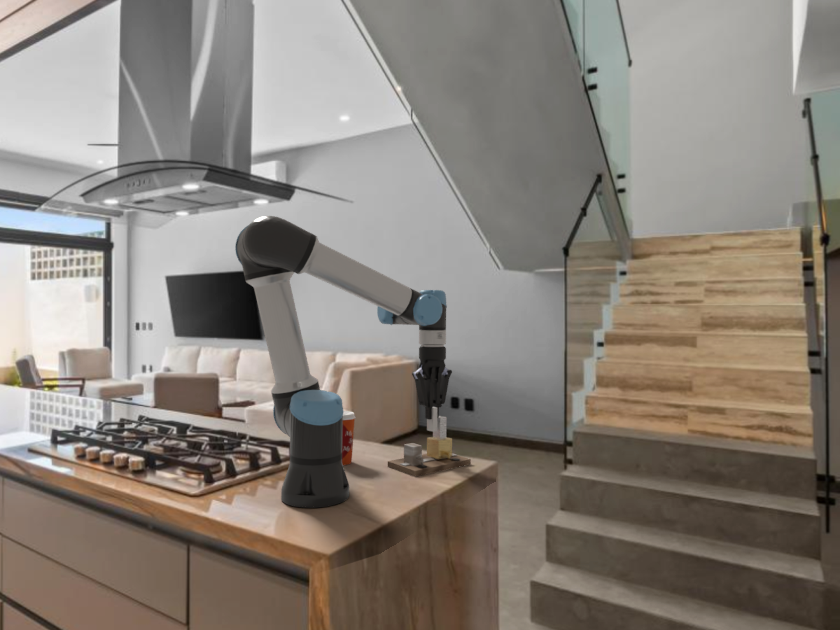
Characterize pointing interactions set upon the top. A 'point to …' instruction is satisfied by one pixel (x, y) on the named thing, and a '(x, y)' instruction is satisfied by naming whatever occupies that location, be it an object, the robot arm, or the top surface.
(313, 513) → the top surface
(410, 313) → the robot arm
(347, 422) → the paper cup
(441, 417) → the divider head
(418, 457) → the assembly board
